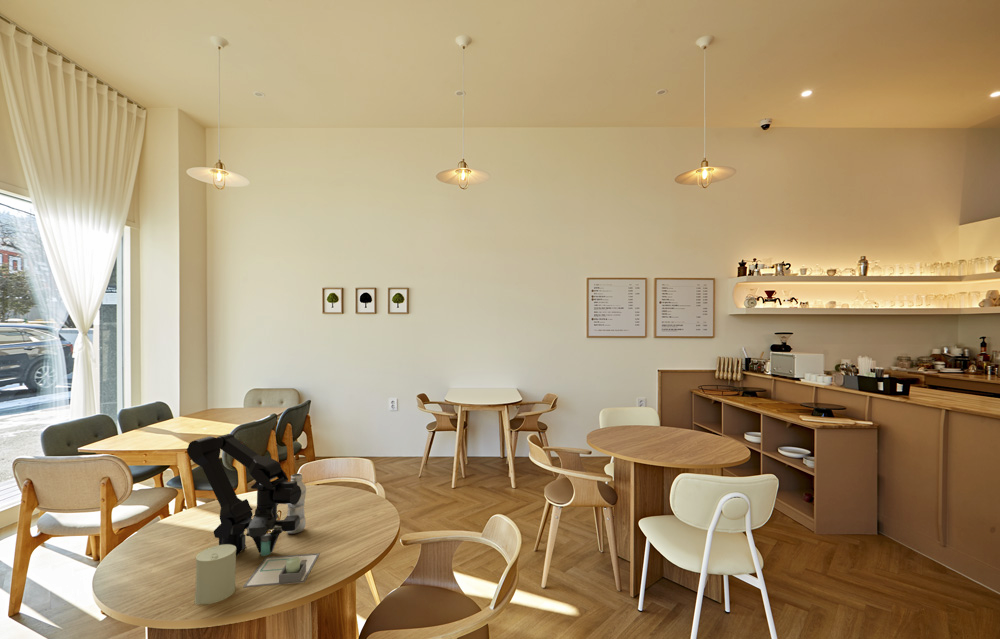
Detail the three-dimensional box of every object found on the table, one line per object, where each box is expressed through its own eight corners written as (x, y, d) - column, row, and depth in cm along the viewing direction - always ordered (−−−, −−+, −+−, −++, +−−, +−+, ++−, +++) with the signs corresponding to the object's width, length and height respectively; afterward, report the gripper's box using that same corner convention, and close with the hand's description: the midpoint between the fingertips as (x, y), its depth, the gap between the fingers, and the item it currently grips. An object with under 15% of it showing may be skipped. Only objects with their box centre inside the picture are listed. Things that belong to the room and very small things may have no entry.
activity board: (242, 589, 117) (243, 578, 118) (265, 559, 133) (265, 549, 133) (304, 584, 120) (304, 573, 120) (319, 555, 136) (319, 546, 136)
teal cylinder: (259, 558, 134) (259, 537, 135) (262, 553, 137) (263, 533, 138) (269, 557, 135) (269, 537, 135) (272, 552, 138) (273, 533, 138)
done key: (284, 575, 120) (284, 564, 120) (288, 568, 124) (288, 557, 124) (297, 573, 121) (297, 563, 121) (301, 567, 124) (301, 556, 124)
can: (190, 610, 108) (191, 562, 109) (199, 590, 117) (200, 546, 117) (232, 601, 112) (233, 554, 113) (238, 583, 121) (239, 539, 121)
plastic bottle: (280, 534, 151) (281, 476, 151) (296, 526, 157) (297, 471, 158) (294, 537, 148) (295, 479, 149) (309, 529, 154) (310, 473, 155)
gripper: (223, 514, 127) (221, 567, 127) (289, 510, 130) (288, 562, 130) (240, 500, 138) (238, 549, 138) (300, 496, 141) (300, 545, 141)
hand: (266, 551), depth 136 cm, fingers closed on teal cylinder, 3 cm apart
